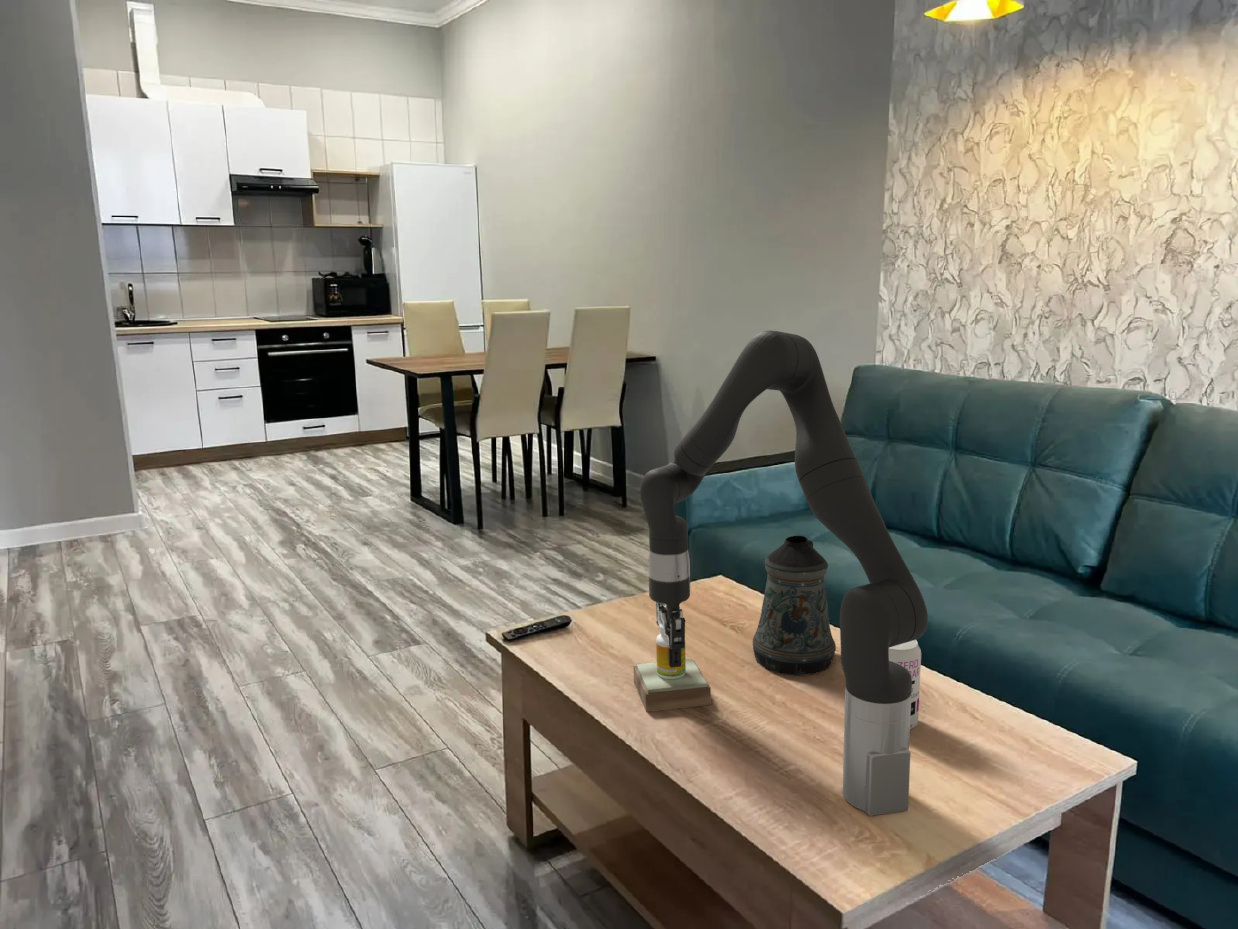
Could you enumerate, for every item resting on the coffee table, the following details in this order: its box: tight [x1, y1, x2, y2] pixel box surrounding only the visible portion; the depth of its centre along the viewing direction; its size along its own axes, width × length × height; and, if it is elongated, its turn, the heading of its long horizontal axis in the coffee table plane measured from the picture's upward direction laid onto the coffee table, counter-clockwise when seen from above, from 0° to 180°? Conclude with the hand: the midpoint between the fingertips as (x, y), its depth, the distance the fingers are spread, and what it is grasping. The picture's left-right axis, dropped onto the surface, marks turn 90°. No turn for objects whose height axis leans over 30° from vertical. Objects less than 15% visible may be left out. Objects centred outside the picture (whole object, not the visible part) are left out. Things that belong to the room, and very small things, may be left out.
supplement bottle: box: [655, 622, 687, 679], centre depth 163 cm, size 5×5×10 cm
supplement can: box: [889, 639, 922, 731], centre depth 151 cm, size 8×8×15 cm
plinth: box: [633, 658, 712, 713], centre depth 165 cm, size 12×12×4 cm
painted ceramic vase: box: [752, 535, 837, 677], centre depth 177 cm, size 16×19×25 cm
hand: (670, 658), depth 163 cm, fingers open, 6 cm apart
